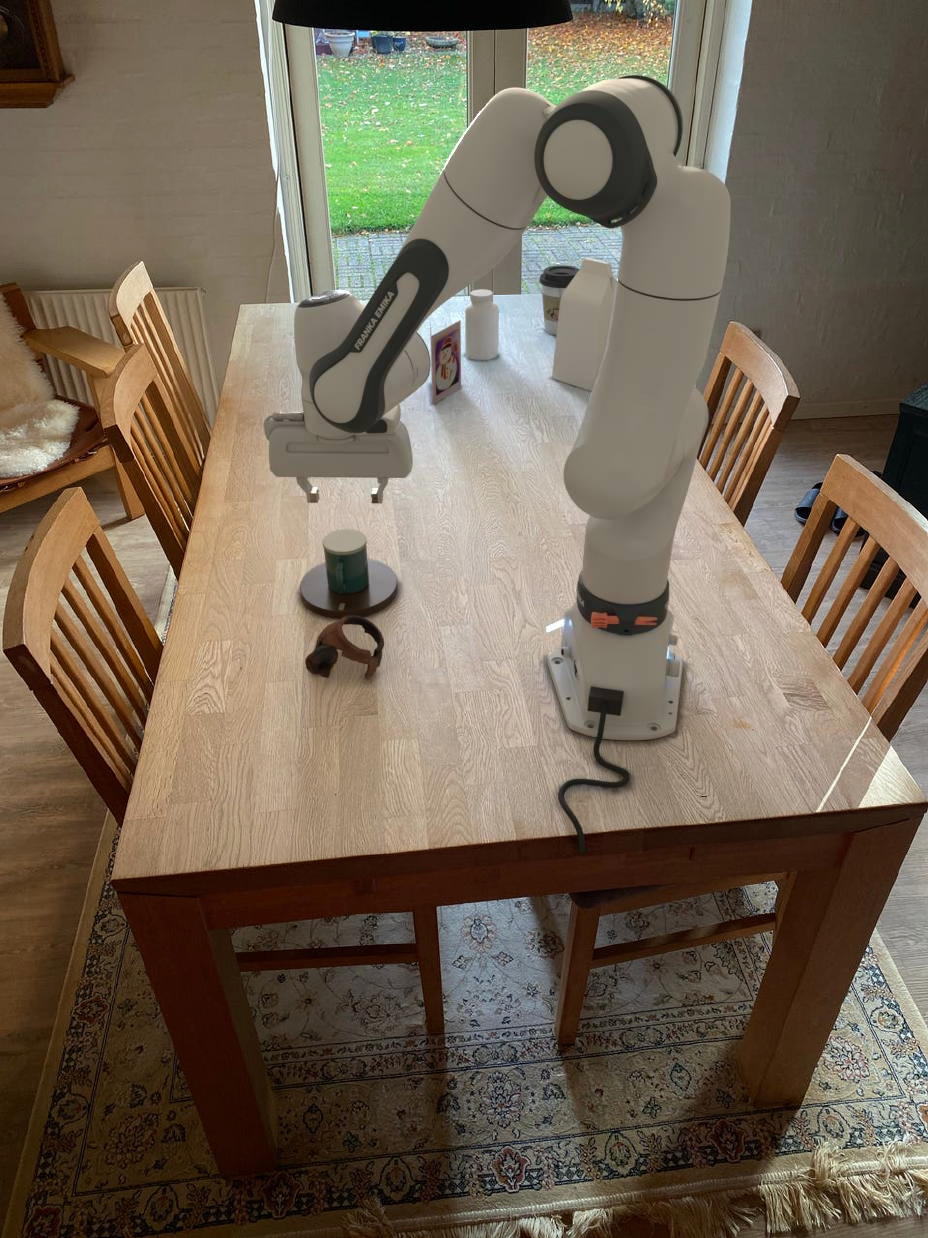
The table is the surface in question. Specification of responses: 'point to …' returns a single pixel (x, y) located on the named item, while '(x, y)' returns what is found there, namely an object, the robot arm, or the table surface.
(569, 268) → the coffee cup
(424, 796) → the table surface
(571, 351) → the milk
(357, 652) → the brown strap loop
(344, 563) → the green lidded mug
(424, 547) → the table surface
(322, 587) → the turntable
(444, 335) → the greeting card
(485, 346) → the pill bottle
